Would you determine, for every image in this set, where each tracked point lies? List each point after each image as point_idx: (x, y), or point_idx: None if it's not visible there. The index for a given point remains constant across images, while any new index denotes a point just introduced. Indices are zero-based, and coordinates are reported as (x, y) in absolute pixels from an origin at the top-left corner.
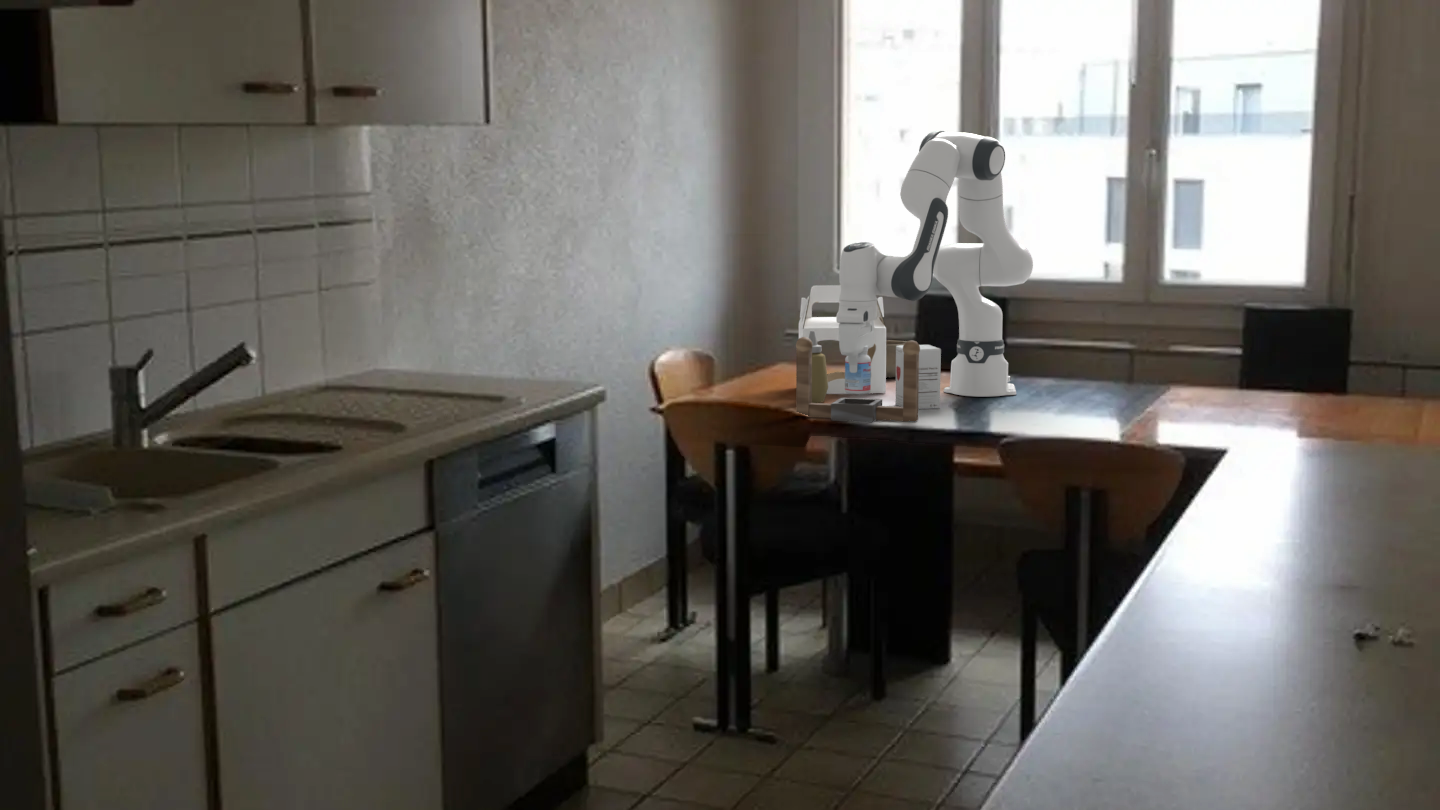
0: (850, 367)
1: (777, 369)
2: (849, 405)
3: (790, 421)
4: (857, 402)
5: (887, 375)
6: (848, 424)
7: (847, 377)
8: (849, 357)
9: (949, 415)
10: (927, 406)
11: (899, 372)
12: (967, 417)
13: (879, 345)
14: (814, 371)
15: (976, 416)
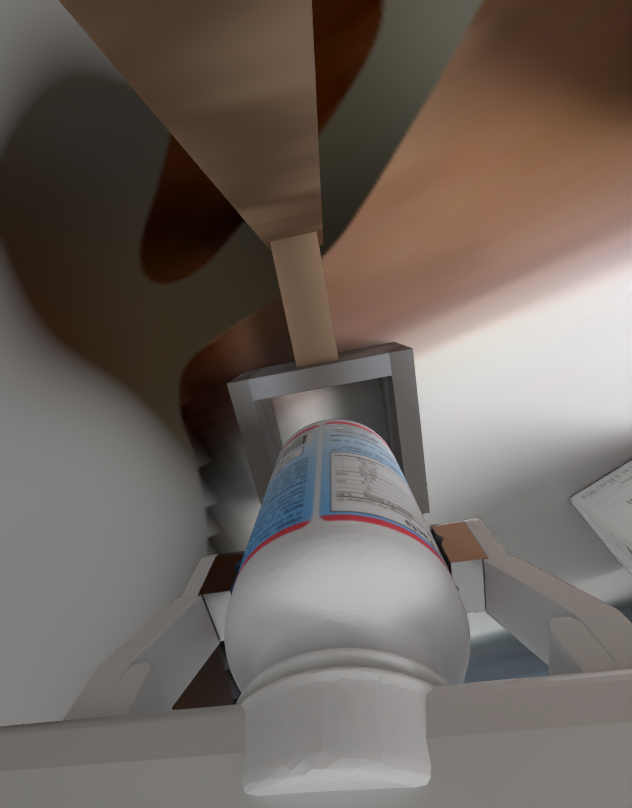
0: (192, 585)
1: None
2: (248, 455)
3: (145, 241)
4: (394, 422)
5: None
6: (207, 452)
7: (268, 489)
8: (98, 689)
9: (492, 623)
10: (610, 549)
11: None
12: (473, 663)
13: None
14: None
15: (498, 674)
